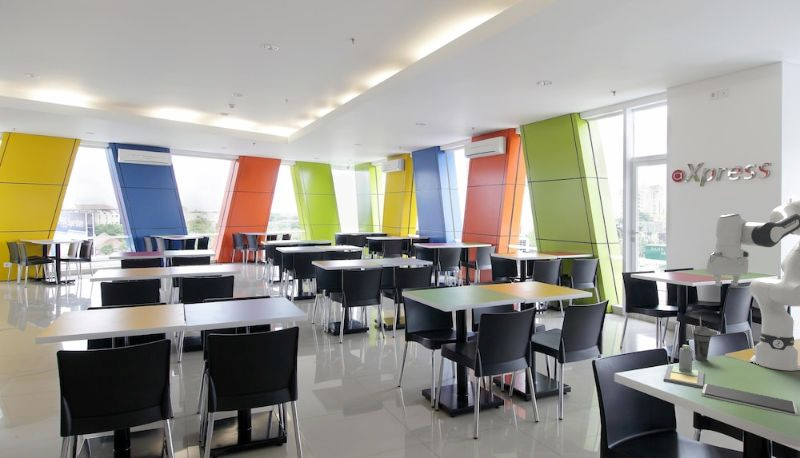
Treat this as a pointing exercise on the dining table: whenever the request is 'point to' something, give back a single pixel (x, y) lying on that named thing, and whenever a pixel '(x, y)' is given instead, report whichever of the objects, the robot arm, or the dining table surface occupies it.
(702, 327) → the beverage cup
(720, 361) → the dining table surface
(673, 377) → the colour board
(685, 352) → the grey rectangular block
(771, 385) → the dining table surface
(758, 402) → the grey tray
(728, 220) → the robot arm
